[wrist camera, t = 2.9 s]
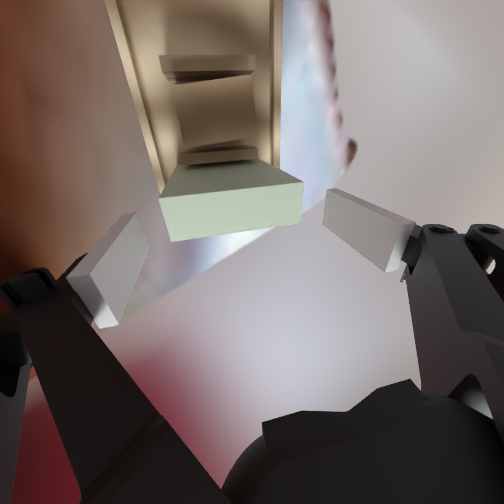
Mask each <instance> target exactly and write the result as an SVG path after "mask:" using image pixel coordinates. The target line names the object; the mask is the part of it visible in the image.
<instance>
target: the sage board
mask: <svg viewBox="0 0 504 504" xmlns="http://www.w3.org/2000/svg"><path fill="white" fill-rule="evenodd" d="M303 188H304V182H303V181H301V180H299V179H297V178H295V177H293V176H292V175H290V174H288V173H286V172H284V171H282V170H280V169H278V168H276V167H274V166H273V165H271V164H269V163H267V162H265V161H263V160H261V159H259V158H258V159H247V160H236V161H225V162H213V163H202V164H191V165H182V164H178V165H177V166H176V167H175V169H174V171H173V173H172V175H171V177H170V178H169V180H168V182H167V184H166V186H165V187H164V189H163V191H162V193H161V195H160V196H159V198H158V199H159V202H160V205H161V209H162V212H163V215H164V219H165V222H166V226H167V229H168V232H169V236H170V239H171V242H174V241H181V240H188V239H194V238H201V237H208V236H215V235H222V234H229V233H236V232H243V231H250V230H256V229H263V228H270V227H277V226H284V225H291V224H298V223H301V213H302V201H303Z"/></svg>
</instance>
